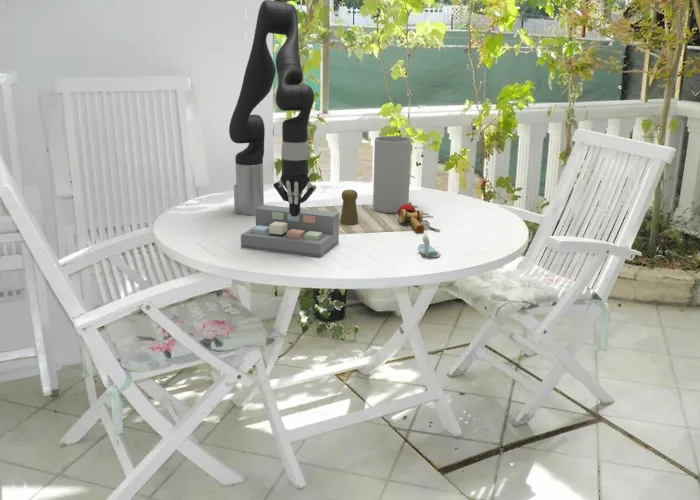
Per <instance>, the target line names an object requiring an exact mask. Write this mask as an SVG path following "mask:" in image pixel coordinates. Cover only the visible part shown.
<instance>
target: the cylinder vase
mask: <svg viewBox="0 0 700 500" xmlns="http://www.w3.org/2000/svg"><path fill="white" fill-rule="evenodd" d="M373 151H374V155H373V156H374V157H373V161H374V162H373V191H372V193H373V196H372V197H373V198H372V208H373V210H374V211H376V212H378V213H381V214H382V213H383V214H398V210H399V208H400V206H402V205H403V204H410V203H409V201H410V199H409V198H410V181H411V179H410V178H411V177H410V176H411V175H410V174H411V173H410V172H411V156H412V155H411V154H412V153H411V151H412V139H411V138H409V137H407V136H399V135H398V136H397V135H394V136H393V135H385V136H383V135H381V136H377V137H374V150H373Z"/></svg>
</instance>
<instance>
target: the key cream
mask: <svg viewBox="0 0 700 500" xmlns="http://www.w3.org/2000/svg"><path fill="white" fill-rule="evenodd" d="M286 232H287V223H283V222H273V223H272V224H270V225H269V233H271V236H278V237H283V236H285V235H286Z"/></svg>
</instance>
